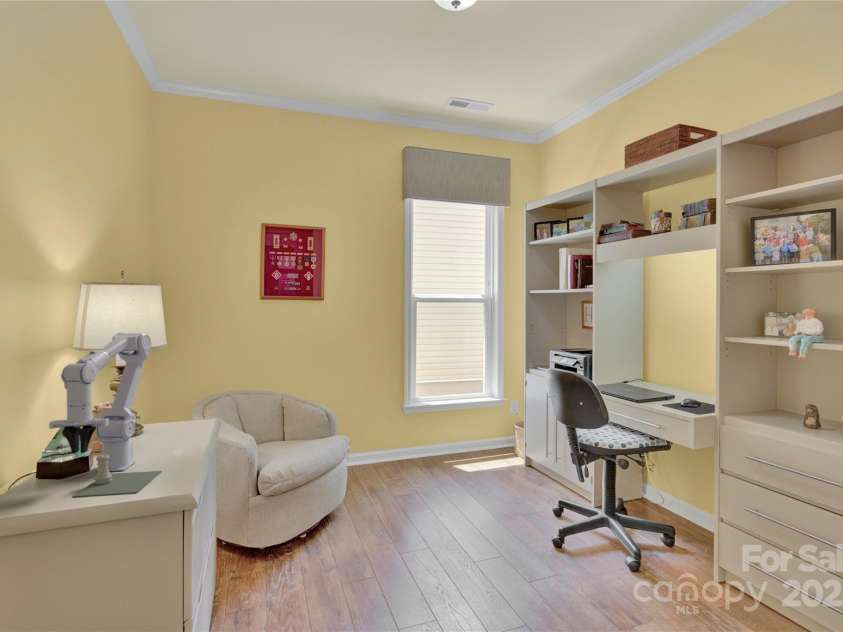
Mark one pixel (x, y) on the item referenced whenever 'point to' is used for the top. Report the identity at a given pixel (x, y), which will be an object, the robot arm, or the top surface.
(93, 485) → the mat
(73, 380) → the robot arm
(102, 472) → the rook chess piece
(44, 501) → the top surface
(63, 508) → the top surface
